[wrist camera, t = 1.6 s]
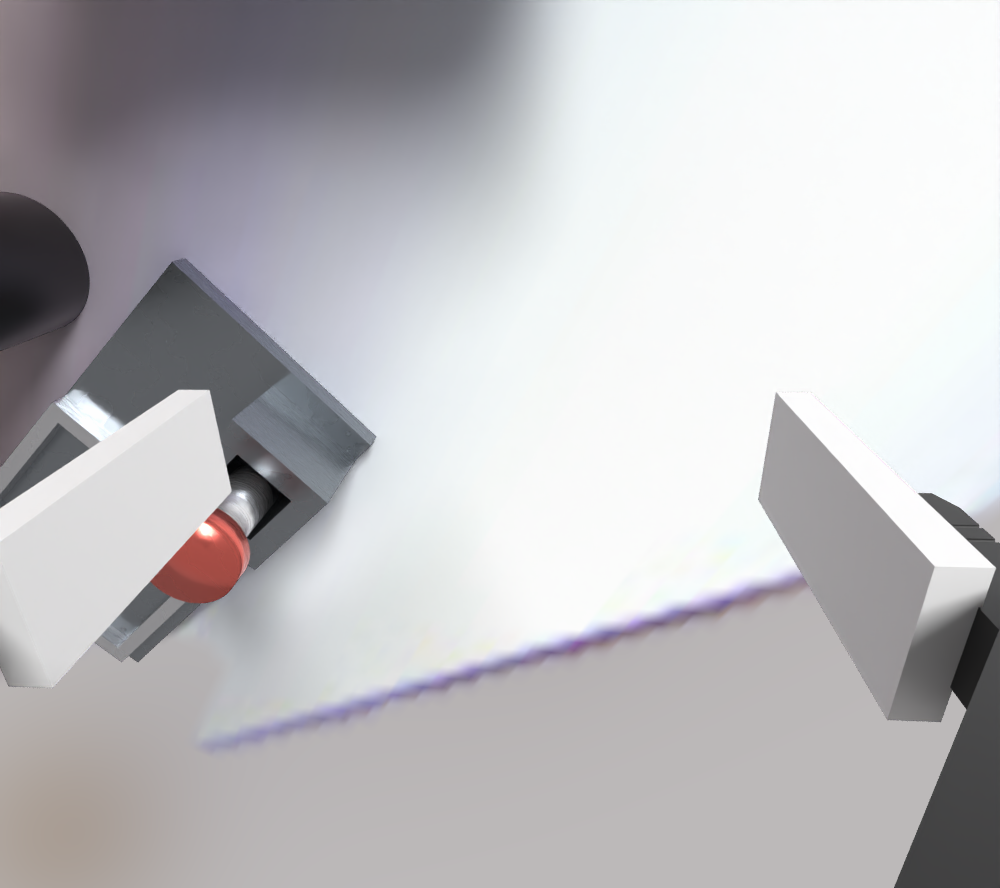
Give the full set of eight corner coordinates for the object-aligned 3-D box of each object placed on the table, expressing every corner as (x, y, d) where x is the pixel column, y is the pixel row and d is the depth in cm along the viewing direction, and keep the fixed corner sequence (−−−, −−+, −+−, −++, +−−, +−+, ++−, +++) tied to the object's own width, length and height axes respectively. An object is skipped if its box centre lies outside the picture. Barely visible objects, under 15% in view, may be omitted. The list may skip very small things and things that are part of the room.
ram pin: (197, 483, 39) (117, 557, 32) (246, 432, 38) (174, 497, 31) (261, 537, 41) (198, 620, 33) (312, 489, 39) (257, 565, 32)
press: (-27, 520, 49) (-120, 579, 42) (184, 258, 40) (109, 278, 33) (148, 649, 53) (88, 722, 46) (376, 436, 44) (344, 487, 37)
